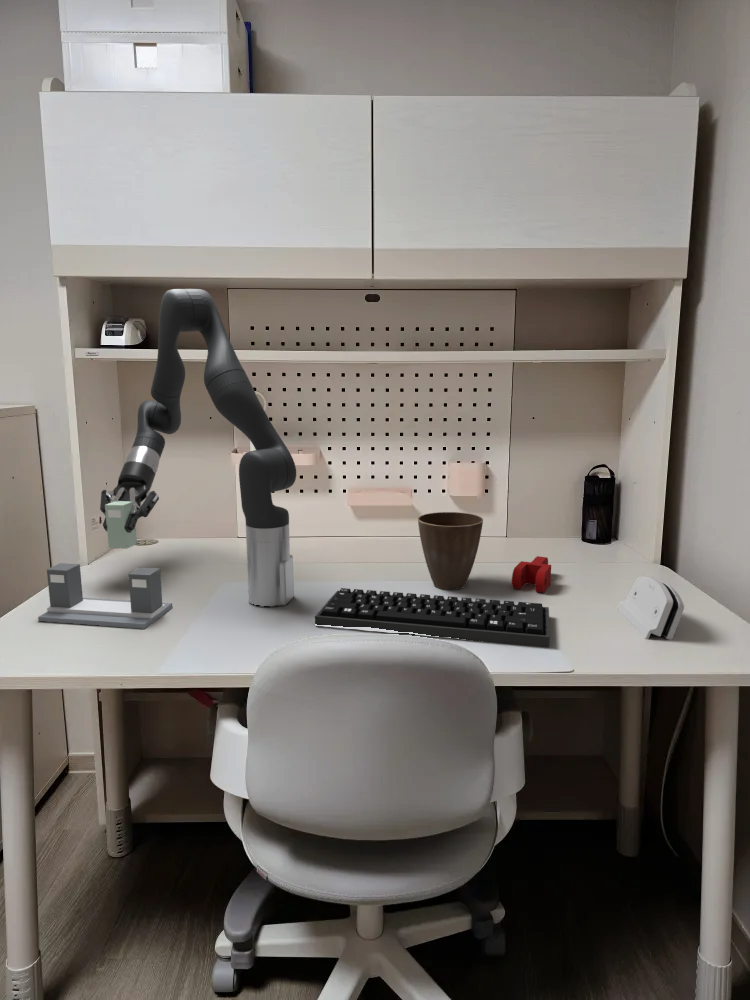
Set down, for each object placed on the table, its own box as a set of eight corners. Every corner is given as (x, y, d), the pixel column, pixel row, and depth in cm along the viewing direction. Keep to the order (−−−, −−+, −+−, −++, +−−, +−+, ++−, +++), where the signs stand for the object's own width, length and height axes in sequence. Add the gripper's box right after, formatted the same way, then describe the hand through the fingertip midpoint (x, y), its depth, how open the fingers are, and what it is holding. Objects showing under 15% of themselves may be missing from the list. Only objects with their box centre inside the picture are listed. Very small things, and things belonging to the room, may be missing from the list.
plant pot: (406, 589, 157) (407, 521, 154) (430, 572, 171) (431, 509, 167) (469, 599, 151) (471, 528, 148) (489, 580, 164) (491, 515, 161)
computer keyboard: (314, 629, 136) (314, 610, 135) (337, 602, 151) (337, 585, 150) (549, 650, 126) (550, 631, 125) (548, 619, 141) (549, 601, 140)
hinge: (615, 608, 146) (634, 565, 144) (635, 615, 146) (655, 573, 144) (646, 640, 129) (668, 592, 127) (669, 647, 129) (691, 600, 128)
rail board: (172, 607, 146) (169, 563, 144) (144, 628, 135) (141, 581, 133) (73, 601, 150) (69, 558, 148) (38, 621, 138) (33, 575, 136)
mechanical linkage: (542, 595, 154) (543, 574, 153) (511, 591, 157) (512, 570, 156) (557, 575, 168) (558, 556, 167) (528, 572, 171) (529, 552, 170)
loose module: (137, 543, 159) (133, 501, 157) (126, 548, 155) (122, 505, 153) (119, 543, 160) (115, 500, 158) (108, 548, 156) (104, 505, 154)
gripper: (105, 459, 162) (80, 520, 153) (161, 460, 160) (139, 522, 151) (119, 478, 169) (95, 538, 159) (173, 479, 166) (153, 539, 157)
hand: (117, 530), depth 155 cm, fingers closed on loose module, 4 cm apart
